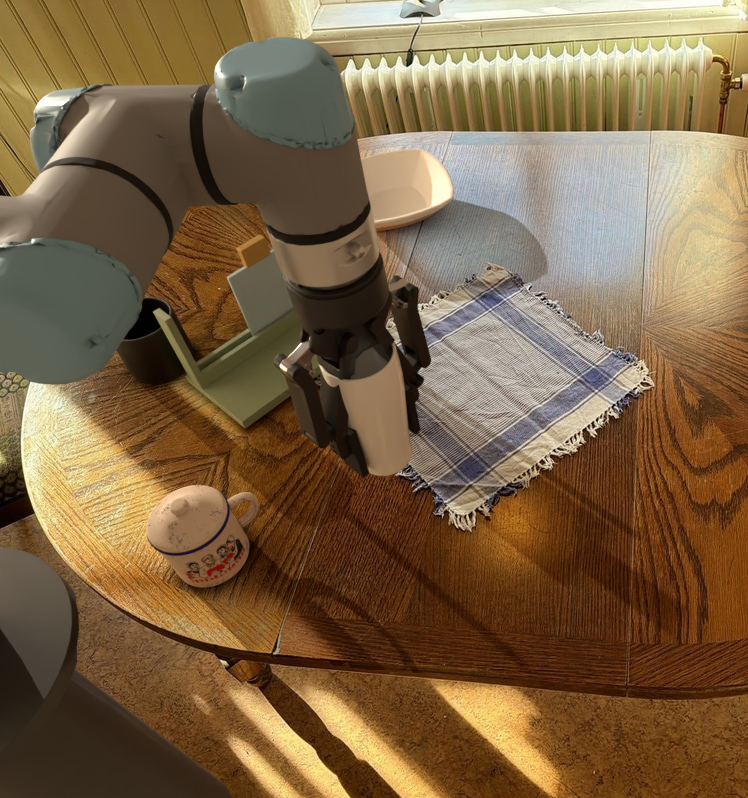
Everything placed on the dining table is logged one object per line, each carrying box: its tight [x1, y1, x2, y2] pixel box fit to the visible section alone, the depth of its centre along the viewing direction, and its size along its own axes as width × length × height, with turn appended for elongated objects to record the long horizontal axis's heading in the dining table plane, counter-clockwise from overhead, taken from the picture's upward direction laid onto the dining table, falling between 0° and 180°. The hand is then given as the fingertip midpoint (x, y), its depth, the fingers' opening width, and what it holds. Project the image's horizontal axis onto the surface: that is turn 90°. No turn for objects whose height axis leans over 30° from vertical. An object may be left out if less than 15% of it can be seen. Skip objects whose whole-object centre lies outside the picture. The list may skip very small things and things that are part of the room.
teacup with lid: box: [145, 484, 260, 588], centre depth 87 cm, size 12×9×12 cm
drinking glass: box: [319, 341, 413, 477], centre depth 69 cm, size 7×7×15 cm
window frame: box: [153, 308, 321, 429], centre depth 107 cm, size 22×14×15 cm, turn 140°
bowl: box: [361, 148, 455, 232], centre depth 136 cm, size 22×22×5 cm
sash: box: [226, 234, 294, 337], centre depth 109 cm, size 10×1×16 cm, turn 140°
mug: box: [115, 296, 196, 385], centre depth 110 cm, size 9×12×9 cm
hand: (383, 446), depth 74 cm, fingers closed on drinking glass, 6 cm apart
